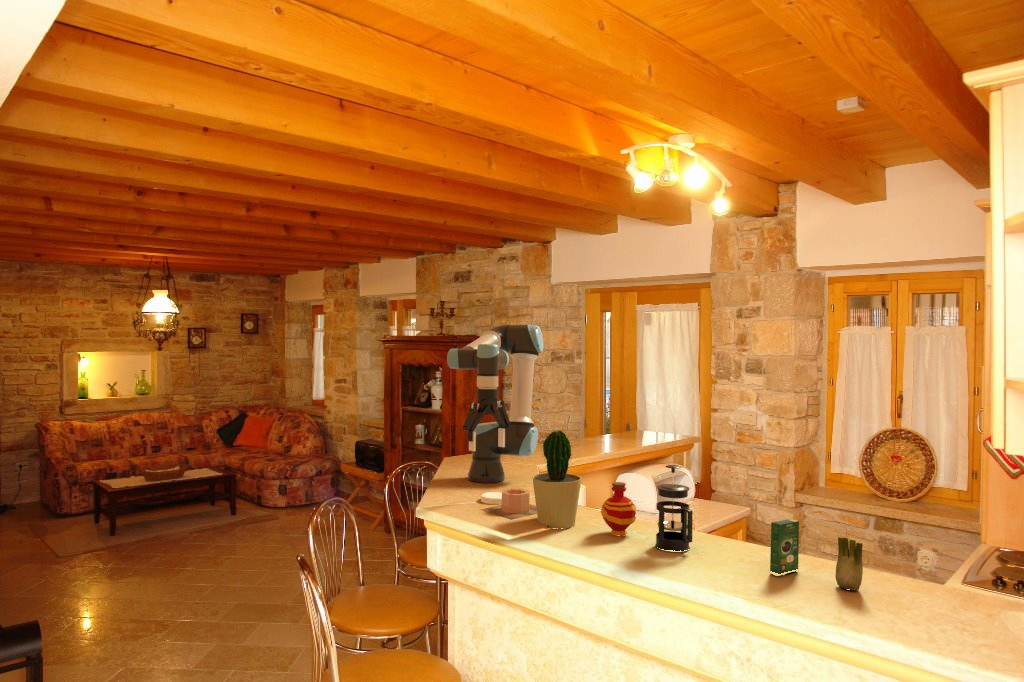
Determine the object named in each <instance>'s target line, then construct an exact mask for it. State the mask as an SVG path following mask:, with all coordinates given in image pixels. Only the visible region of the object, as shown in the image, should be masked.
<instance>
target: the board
mask: <svg viewBox="0 0 1024 682" xmlns="http://www.w3.org/2000/svg"><path fill="white" fill-rule="evenodd" d="M479 511H483V512H486V513H489V514H492V515H495V516H498V517H502V518H503V519H504V518H505V519H509V520H515V519H521V518H524V517H529V516H533V515H537V509H536V504H531V503H529V512H525V513H521V514H520V513H507V512H503V511H502V504H498V505H495V506H491V507H489V506H488V507H486V508H480V509H479Z"/></svg>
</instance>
